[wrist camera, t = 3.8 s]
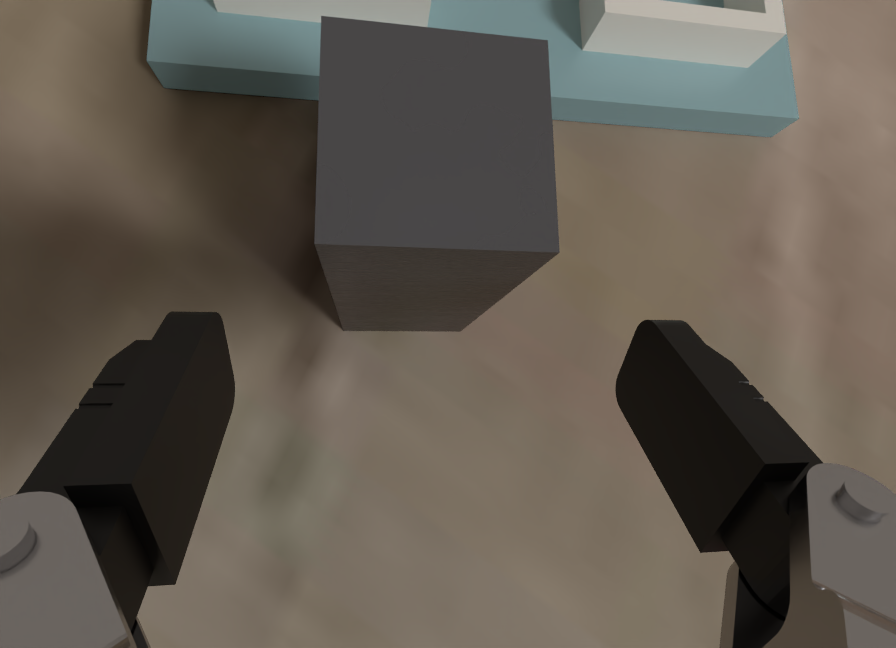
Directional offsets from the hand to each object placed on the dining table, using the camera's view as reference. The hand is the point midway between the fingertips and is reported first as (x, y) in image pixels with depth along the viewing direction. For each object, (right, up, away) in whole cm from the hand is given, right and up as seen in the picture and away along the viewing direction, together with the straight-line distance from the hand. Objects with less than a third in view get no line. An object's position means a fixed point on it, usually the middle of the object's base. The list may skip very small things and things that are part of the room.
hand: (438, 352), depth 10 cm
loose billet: (-2, +2, +9) cm, 10 cm away
